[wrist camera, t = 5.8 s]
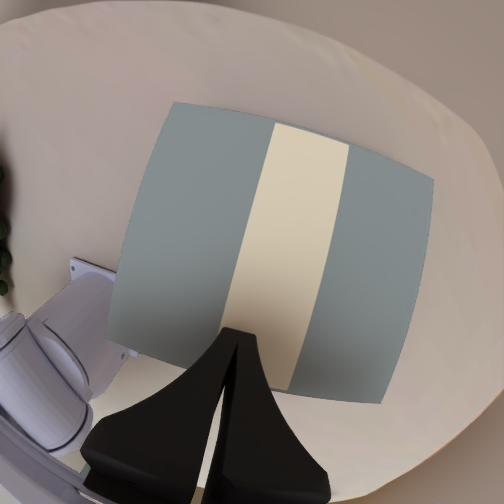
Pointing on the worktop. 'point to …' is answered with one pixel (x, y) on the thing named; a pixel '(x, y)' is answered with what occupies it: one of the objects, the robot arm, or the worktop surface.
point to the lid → (273, 252)
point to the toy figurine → (3, 253)
